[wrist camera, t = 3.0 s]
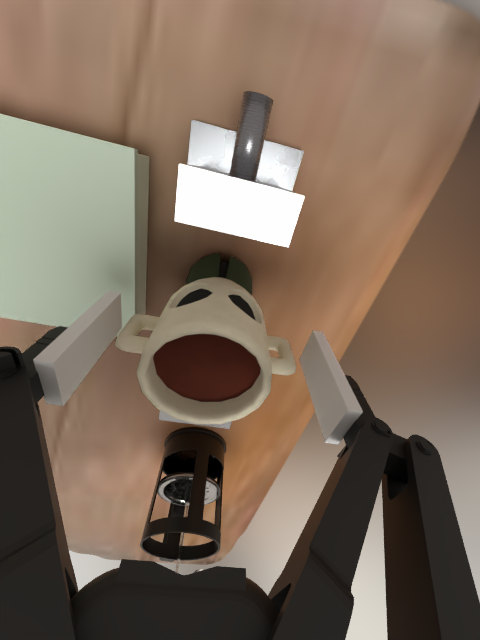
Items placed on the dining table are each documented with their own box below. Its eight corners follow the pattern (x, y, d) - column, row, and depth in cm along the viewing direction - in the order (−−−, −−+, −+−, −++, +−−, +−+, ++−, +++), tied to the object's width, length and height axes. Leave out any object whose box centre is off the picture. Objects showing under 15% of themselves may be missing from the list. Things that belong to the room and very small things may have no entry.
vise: (169, 366, 29) (146, 435, 21) (196, 99, 17) (161, 37, 9) (235, 376, 30) (234, 446, 22) (306, 131, 18) (360, 101, 10)
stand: (-5, 289, 24) (-45, 309, 20) (-68, 95, 16) (-149, 74, 13) (148, 317, 26) (134, 339, 22) (153, 152, 18) (134, 148, 15)
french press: (176, 417, 34) (95, 748, 15) (237, 434, 36) (238, 742, 17) (155, 459, 40) (76, 740, 20) (209, 471, 42) (185, 736, 22)
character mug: (284, 259, 22) (330, 345, 11) (264, 323, 26) (285, 435, 15) (165, 235, 21) (87, 305, 10) (161, 305, 25) (101, 414, 14)
